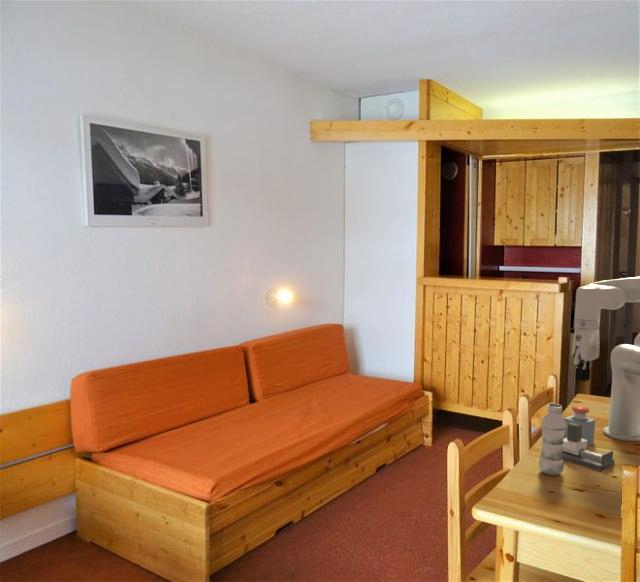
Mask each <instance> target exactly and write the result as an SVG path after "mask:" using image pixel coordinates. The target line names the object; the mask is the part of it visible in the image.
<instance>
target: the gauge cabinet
mask: <svg viewBox="0 0 640 582" xmlns="http://www.w3.org/2000/svg"><path fill="white" fill-rule="evenodd" d="M563 418H564V420H565V423H566V429H565V434H564V439H565V438H567V434H568V424H570V423H572V422H574V423H578V424H581V425H582V439H585V440H588V441H587V447H588V446H591V445H593V444H594V441H595V440H594V439H595V429H596V428H595V427H596V419H594V418H590V417H587V416H586V421H584V422H582V421H578V420H574V414H571V415H569V416H566V417H563Z"/></svg>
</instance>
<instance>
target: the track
mask: <svg viewBox="0 0 640 582" xmlns="http://www.w3.org/2000/svg"><path fill="white" fill-rule="evenodd" d="M615 460H616V459H615V458H614V450H609V451H608V452H607V451H606V452H605V453H603V454H601V453H597V452H595V451H591V450H588V449H585V450H584V449H580V450H579V455H574V454H571V453H568V452H565V451H563V461H567V462H571V463H573V462H574V464H577V465H580V466H583V467H586V468H589V469H592V470H595V471H597V472H602V471H604V470H606V469H609V468H610V467H613V465H615Z"/></svg>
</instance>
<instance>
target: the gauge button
mask: <svg viewBox="0 0 640 582" xmlns="http://www.w3.org/2000/svg"><path fill="white" fill-rule="evenodd" d="M571 411H572V412H573V415H574V420H578V421H582V422H584V421H586V417H587V413H590V408H589V407H588V406H584V405H575V404H574V405H572V406H571Z"/></svg>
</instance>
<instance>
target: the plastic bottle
mask: <svg viewBox="0 0 640 582" xmlns="http://www.w3.org/2000/svg"><path fill="white" fill-rule="evenodd" d="M546 411H547V414H545V415H544V416H543V418H542V419H541V424H540V425H541V434H542V436H541V438H542V441H541V442H542V445H541V451H540V452H541V453H540V457H539V460H538V467H539V469H540V471H541V472H542V474H543V473H544V474H546V475H549V476H560V475H561V474H562V473H563V472H564V469H565V463H564V462H565V461H564V459H563V439H564V434H565V429H566V423H565V420H564V418H565V417H563V416H562V413H563V406H562V404H558V403H548V404H547V410H546Z"/></svg>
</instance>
